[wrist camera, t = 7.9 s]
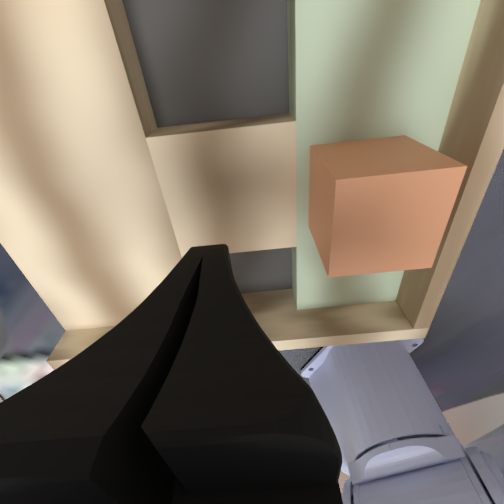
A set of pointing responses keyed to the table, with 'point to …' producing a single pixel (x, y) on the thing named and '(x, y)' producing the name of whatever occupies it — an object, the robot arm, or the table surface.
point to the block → (380, 204)
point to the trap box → (231, 148)
